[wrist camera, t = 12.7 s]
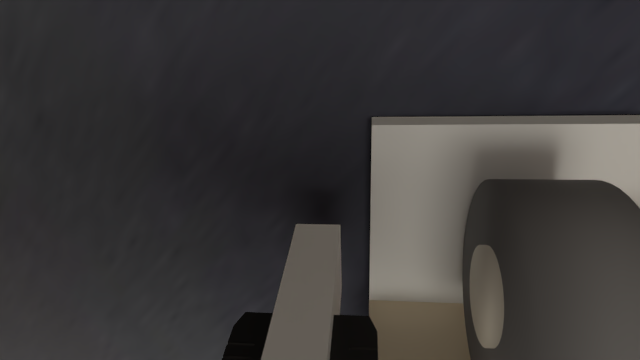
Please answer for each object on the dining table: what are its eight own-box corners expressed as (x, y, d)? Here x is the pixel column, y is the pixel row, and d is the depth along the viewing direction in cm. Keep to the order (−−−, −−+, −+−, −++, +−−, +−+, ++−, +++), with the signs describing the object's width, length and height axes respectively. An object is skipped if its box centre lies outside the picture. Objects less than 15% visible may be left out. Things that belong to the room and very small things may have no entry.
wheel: (450, 299, 18) (493, 485, 12) (471, 141, 14) (547, 285, 8) (665, 306, 17) (834, 511, 11) (739, 141, 14) (1043, 301, 8)
